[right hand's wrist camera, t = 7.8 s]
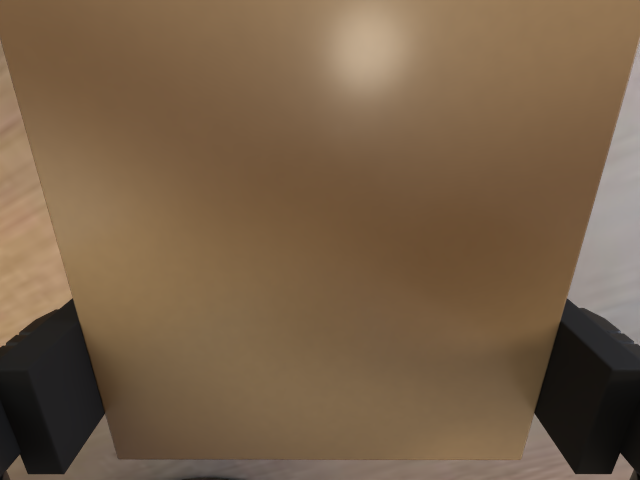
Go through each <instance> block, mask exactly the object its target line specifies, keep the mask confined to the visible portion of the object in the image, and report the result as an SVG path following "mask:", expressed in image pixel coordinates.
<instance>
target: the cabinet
mask: <svg viewBox="0 0 640 480" xmlns="http://www.w3.org/2000/svg"><path fill="white" fill-rule="evenodd" d="M0 40H1V43H2V47H3V50H4V54H5V57H6V61H7V65H8V68H9V72H10V75H11V79H12V82H13V86H14V90H15V93H16V97H17V100H18V104H19V107H20V111H21V115H22V118H23V122H24V125H25V129H26V132H27V136H28V140H29V143H30V147H31V150H32V154H33V157H34V161H35V165H36V168H37V172H38V175H39V179H40V182H41V186H42V190H43V193H44V197H45V200H46V204H47V207H48V211H49V215H50V218H51V222H52V225H53V229H54V232H55V236H56V240H57V243H58V247H59V250H60V254H61V257H62V261H63V265H64V268H65V272H66V275H67V279H68V282H69V286H70V290H71V293H72V297H73V300H74V304H75V307H76V311H77V315H78V318H79V322H80V325H81V329H82V332H83V336H84V340H85V343H86V347H87V350H88V354H89V357H90V361H91V365H92V368H93V372H94V375H95V379H96V382H97V386H98V390H99V393H100V397H101V400H102V404H103V407H104V411H105V415H106V418H107V422H108V425H109V429H110V432H111V436H112V440H113V443H114V447H115V450H116V454H117V457H118V459H270V460H520V459H521V458H522V454H523V451H524V447H525V444H526V440H527V437H528V433H529V430H530V426H531V423H532V419H533V416H534V412H535V409H536V405H537V402H538V398H539V395H540V391H541V387H542V384H543V380H544V377H545V373H546V370H547V366H548V363H549V359H550V356H551V352H552V349H553V345H554V342H555V338H556V335H557V331H558V328H559V324H560V320H561V317H562V313H563V310H564V306H565V303H566V299H567V296H568V292H569V289H570V285H571V282H572V278H573V275H574V271H575V268H576V264H577V261H578V257H579V253H580V250H581V246H582V243H583V239H584V236H585V232H586V229H587V225H588V222H589V218H590V215H591V211H592V208H593V204H594V201H595V197H596V194H597V190H598V187H599V183H600V179H601V176H602V172H603V169H604V165H605V162H606V158H607V155H608V151H609V148H610V144H611V141H612V137H613V134H614V130H615V127H616V123H617V120H618V116H619V112H620V109H621V105H622V102H623V98H624V95H625V91H626V88H627V84H628V81H629V77H630V74H631V70H632V67H633V63H634V60H635V56H636V53H637V49H638V46H639V42H640V0H0Z"/></svg>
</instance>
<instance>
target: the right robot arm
mask: <svg viewBox="0 0 640 480" xmlns="http://www.w3.org/2000/svg"><path fill="white" fill-rule="evenodd" d="M534 413H535V415H536V416H537V418H538V419H539V421H540V422H541V424H542V425H543V427H544V428H545V430H546V431H547V433H548V434H549V435H550V437H551V438H552V440H553V441H554V443H555V444H556V446H557V447H558V449H559V450H560V452H561V453H562V455H563V456H564V458H565V459H566V461H567V462H568V464H569V465H570V467H571V468H572V470H573V471H574V473H575V474H612V471H613V469H614V466H615V464H616V461H617V459H618V457H619V454H620V453H621V454H622V455H623V456H624V458H625V459H626V460H627V461H628V462H629V464H630V465H631V466H632V467H633V468H634V471H633V473H632V475H631V478H630V480H640V346H639V345H638V344H634V341H633V340H631V339H630V338H629V337H628V336H626V335H625V334H621V331H620V330H619V329H617V328H616V327H615V326H614V325H612V324H611V323H610V322H608V321H607V320H606V319H605V318H603V317H601V316H599V315H597V314H595V313H593V312H591V311H589V310H587V309H585V308H578V307H577V306H576V305H574V304H573V303H572V302H571V301H570V300H568V299H566V303H565V306H564V310H563V313H562V317H561V320H560V324H559V328H558V331H557V335H556V338H555V342H554V345H553V349H552V352H551V356H550V359H549V363H548V366H547V370H546V373H545V377H544V380H543V384H542V387H541V391H540V395H539V398H538V402H537V405H536V409H535V412H534ZM104 414H105V411H104V407H103V404H102V400H101V397H100V393H99V390H98V386H97V382H96V379H95V375H94V372H93V368H92V365H91V361H90V357H89V354H88V350H87V347H86V343H85V340H84V336H83V332H82V329H81V325H80V322H79V318H78V315H77V311H76V307H75V304H74V300H73V298H72V299H71V300H70V301H69V302H68V303H66V304H65V305H64V306H63V307H62V308H60V309H56V310H54V311H52V312H50V313H48V314H46V315H44V316H42V317H40V318H38V319H36V320H35V321H33V322H32V323H31V324H29V325H28V326H27V327H26V328H24V329H23V330H22V331H21V332H19V335H16V336H14V337H13V338H12V339H11V340H9V341H8V342H7V343H6V346H2V347H0V480H10V478H9V475H8V473H7V471H6V470H7V469H8V468H9V466H10V465H11V464H12V463H13V462H14V460H15V459H16V458H17V457H18V456H19V454H20V455H21V458H22V460H23V463H24V465H25V468H26V470H27V473H28V474H65V472H66V471H67V469H68V468H69V466H70V465H71V463H72V462H73V460H74V459H75V457H76V456H77V454H78V453H79V451H80V450H81V448H82V447H83V445H84V444H85V442H86V441H87V439H88V438H89V436H90V435H91V433H92V432H93V430H94V429H95V427H96V426H97V424H98V423H99V422H100V420H101V419H102V417H103V416H104ZM184 480H229V479H220V478H192V479H184Z"/></svg>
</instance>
